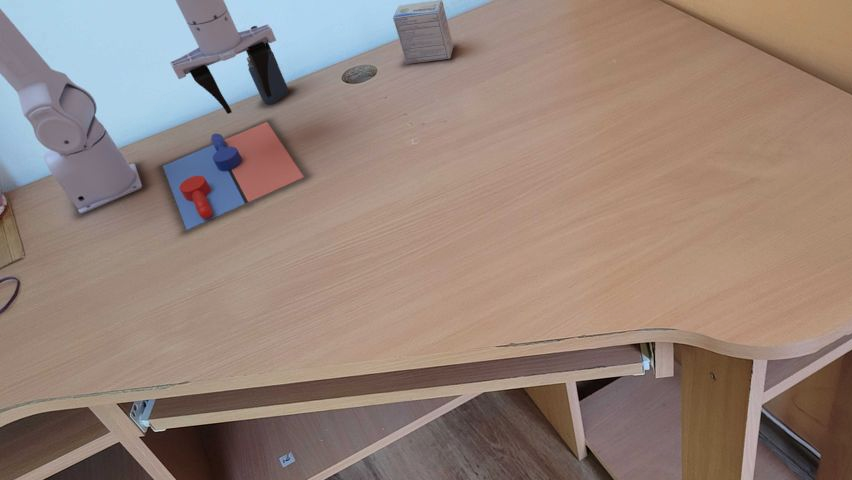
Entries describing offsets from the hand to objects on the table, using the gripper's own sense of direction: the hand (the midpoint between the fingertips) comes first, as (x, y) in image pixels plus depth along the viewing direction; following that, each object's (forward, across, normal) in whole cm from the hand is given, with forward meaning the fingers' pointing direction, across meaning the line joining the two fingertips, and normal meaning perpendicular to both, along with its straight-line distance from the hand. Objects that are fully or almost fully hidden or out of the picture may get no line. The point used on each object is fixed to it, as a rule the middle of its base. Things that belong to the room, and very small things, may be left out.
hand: (248, 102), depth 106 cm
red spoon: (+7, -12, -8) cm, 17 cm away
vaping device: (+8, +6, +14) cm, 16 cm away
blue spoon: (+7, -6, +2) cm, 10 cm away
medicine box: (+8, +32, +6) cm, 33 cm away
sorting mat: (+7, -7, -4) cm, 11 cm away
